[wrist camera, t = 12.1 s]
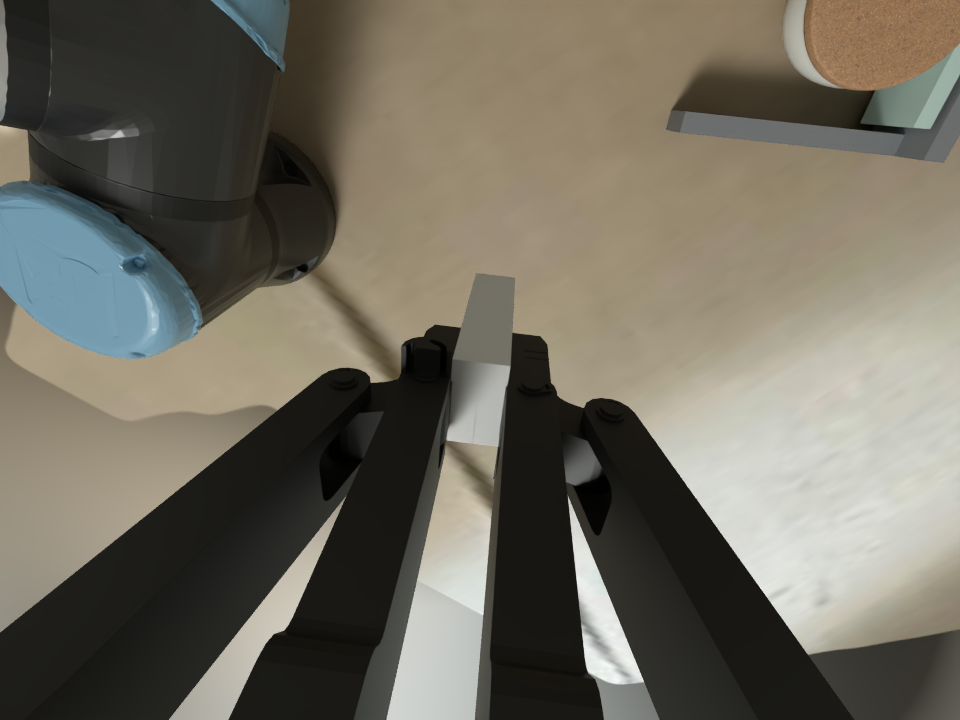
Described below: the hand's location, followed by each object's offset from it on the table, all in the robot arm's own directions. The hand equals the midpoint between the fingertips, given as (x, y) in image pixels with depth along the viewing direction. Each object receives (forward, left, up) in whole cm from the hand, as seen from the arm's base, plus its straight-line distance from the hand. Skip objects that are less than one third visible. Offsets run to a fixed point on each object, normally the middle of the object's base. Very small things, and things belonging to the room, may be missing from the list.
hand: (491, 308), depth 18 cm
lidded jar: (+23, +15, -30) cm, 41 cm away
